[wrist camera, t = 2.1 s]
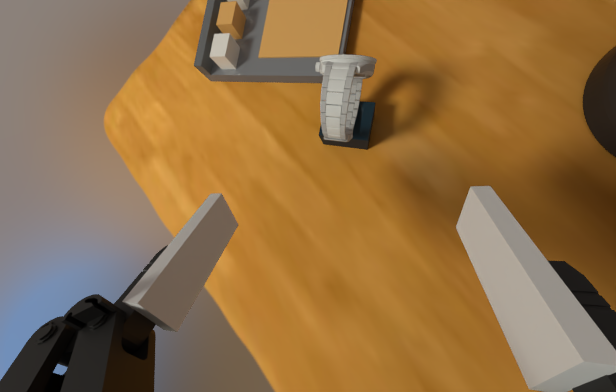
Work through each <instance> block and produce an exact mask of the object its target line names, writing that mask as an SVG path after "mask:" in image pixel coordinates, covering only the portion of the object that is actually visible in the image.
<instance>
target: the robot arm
mask: <svg viewBox="0 0 616 392" xmlns="http://www.w3.org/2000/svg"><path fill="white" fill-rule="evenodd" d="M583 109H584V115H585V119H586V121H587V124H588V126H589V128H590V130H591V132H592V134H593V135H594V136H595V138H596V139H597V140H598V142H599V143H600V144H601V145H602V146H603V147H604V148H605V149H606V150H607V151H608V152H609V153H611V154H612V155H613V156H615V157H616V46H615V47H614V48H613V49H611V50H610V51H609V52H608V53H607V54H606V55H605V56H604V57H603V58H602V59H601V60H600V61H599V62H598V63H597V65H596V66H595V67H594V69H593V70H592V72H591V74H590V76H589V78H588V80H587V83H586V86H585V89H584V95H583ZM237 226H238V223H237V221H236V220H235V218H234V216H233V214H232V212H231V210H230V208H229V206H228V205H227V203H226V201H225V199H224V197H223V195H222V193H221V194H210V195H209V197H208V198H207V199H206V200H205V201H204V203H203V204H202V205H201V206H200V208H199V209H198V210H197V211H196V212H195V214H194V215H193V216H192V217H191V218H190V220H189V221H188V222H187V223H186V225H185V226H184V227H183V228H182V229H181V231H180V232H179V233H178V234H177V235H176V237H175V238H174V239H173V240H172V242H171V243H170V244H169V245H167V246H166V247H164V248H163V249H162V250H161V251H159V252H158V253H157V254H156V255H155V256H154V257H153V259H152V260H151V261H150V263H149V264H148V265H147V266H146V267H145V268H144V269H143V272H141V273H140V274H139V275H138V277H137V278H136V279H135V280H134V281H133V282H132V284H131V285H130V286H129V287H128V288H127V290H126V291H125V292H124V293H123V294H122V295H121V297H120V298H119V299H118V300H117V301H116V302H115V303H114V304H112V303H111V302H109V301H108V300H106V299H105V298H103V297H102V296H100V295H99V294H98V295H91V296H88V297H86V298H84V299H82V300H81V301H79V302H78V303H77V304H75V305H74V306H73V307H72V308H71V309H70V310H69V311H68V312H67V313H66V314H65V315H64V317H63V316H62V317H57V318H55V319H53V320H51V321H49V322H47V323H46V324H44V325H43V326H41V327H40V328H39V329H38V330H37V331H36V332H35V333H34V334H33V335H32V336H31V338H30V339H29V340H28V341H27V343H26V344H25V346H24V347H23V349H22V350H21V352H20V353H19V355H18V356H17V358H16V359H15V360H14V362H13V363H12V365H11V366H10V368H9V369H8V371H7V372H6V374H5V375H4V376H3V378H2V379H1V381H0V392H154V370H155V332H154V330H153V328H154V326H155V325H157V326H159V327H160V328H162V329H163V330H169V331H175V332H177V331H178V330H179V328H180V326H181V324H182V322H183V321H184V319H185V317H186V315H187V314H188V312H189V310H190V309H191V307H192V305H193V303H194V302H195V300H196V298H197V296H198V294H199V293H200V291H201V289H202V288H203V286H204V284H205V282H206V281H207V279H208V277H209V275H210V274H211V272H212V270H213V268H214V267H215V265H216V263H217V261H218V260H219V258H220V256H221V254H222V253H223V251H224V249H225V247H226V246H227V244H228V242H229V240H230V239H231V237H232V235H233V233H234V232H235V230H236V228H237ZM456 229H457V231H458V233H459V236H460V238H461V240H462V242H463V244H464V247H465V249H466V251H467V253H468V256H469V258H470V260H471V262H472V264H473V267H474V269H475V271H476V273H477V275H478V278H479V280H480V282H481V284H482V286H483V289H484V291H485V293H486V295H487V297H488V300H489V302H490V304H491V306H492V308H493V311H494V313H495V315H496V317H497V319H498V322H499V324H500V326H501V328H502V330H503V333H504V335H505V337H506V339H507V341H508V344H509V346H510V348H511V350H512V352H513V355H514V357H515V359H516V361H517V363H518V366H519V368H520V370H521V372H522V374H523V377H524V379H525V381H526V383H527V385H528V388H529V389H532V390H538V391H544V392H567V391H570V390H573V391H574V392H616V312H615V311H614V310H611V308H610V307H611V306H610V305H609V304H608V303H607V302H606V301H605V299H604V298H603V297H602V296H600V295H599V294H598V291H597V290H596V289H595V288H594V287H593V285H592V284H591V283H590V282H589V281H588V280H587V278H586V277H585V276H584V275H583V274H581V273H580V272H578V271H577V270H576V269H574V268H573V267H571V266H570V265H569V264H567V263H566V262H565V261H547V260H546V258H545V257H544V256H543V254H542V253H541V252H540V251H539V249H538V248H537V247H536V245H535V244H534V243H533V241H532V240H531V239H530V237H529V236H528V235H527V233H526V232H525V231H524V230H523V228H522V227H521V226H520V224H519V223H518V222H517V220H516V219H515V218H514V216H513V215H512V214H511V213H510V211H509V210H508V209H507V207H506V206H505V205H504V203H503V202H502V201H501V199H500V198H499V197H498V196H497V194H496V193H495V192H494V190H493V189H492V188H491V186H471V187H470V189H469V192H468V195H467V198H466V200H465V203H464V206H463V209H462V212H461V214H460V217H459V220H458V223H457V226H456ZM57 364H60V365H63V366H66V367H68V368H67V371H66V372H65V373H64V374H63V375H59V374H55V373H53V371H54V369H55V367H56V365H57Z"/></svg>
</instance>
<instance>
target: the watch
mask: <svg viewBox="0 0 616 392" xmlns="http://www.w3.org/2000/svg"><path fill="white" fill-rule="evenodd" d="M376 61H377V60H376V59H375V58H373V57H368V56H362V55H351V54H334V55H325V56H322V57H320V62H316V65H315V70H316V72H320V73H321V74H322V75H323V82H322V89H321V102H320V112H321V127H320V132H319V137H320V138H321V140H322V142H323V144H326V145H334V146H343V147H351V148H359V149H368V144H369V139H370V134H371V128H372V123H373V118H374V111H375V102H360V95H361V87H362V79H365V78H369V77H372V75H373V73H374V67H375V64H376ZM350 93H353V94H350ZM324 100H326V101H324Z"/></svg>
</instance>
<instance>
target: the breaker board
mask: <svg viewBox="0 0 616 392" xmlns="http://www.w3.org/2000/svg"><path fill="white" fill-rule="evenodd" d="M353 6H354V0H208V1H207V6H206V11H205V15H204V20H203V25H202V30H201V34H200V39H199V44H198V48H197V53H196V58H195V63H194V66H195V67H196V68H197V69H198V70H199V71H200V72H201V73H203V74H204V75H205V76H206V77H207V78H208V79H209V80H210V81H230V82H287V83H322V82H323V75H322V74H321V73H320V72H316V70H315V65H316V62H320V57H322V56H325V55H334V54H345V52H346V46H347V41H348V35H349V29H350V23H351V17H352V12H353Z"/></svg>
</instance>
